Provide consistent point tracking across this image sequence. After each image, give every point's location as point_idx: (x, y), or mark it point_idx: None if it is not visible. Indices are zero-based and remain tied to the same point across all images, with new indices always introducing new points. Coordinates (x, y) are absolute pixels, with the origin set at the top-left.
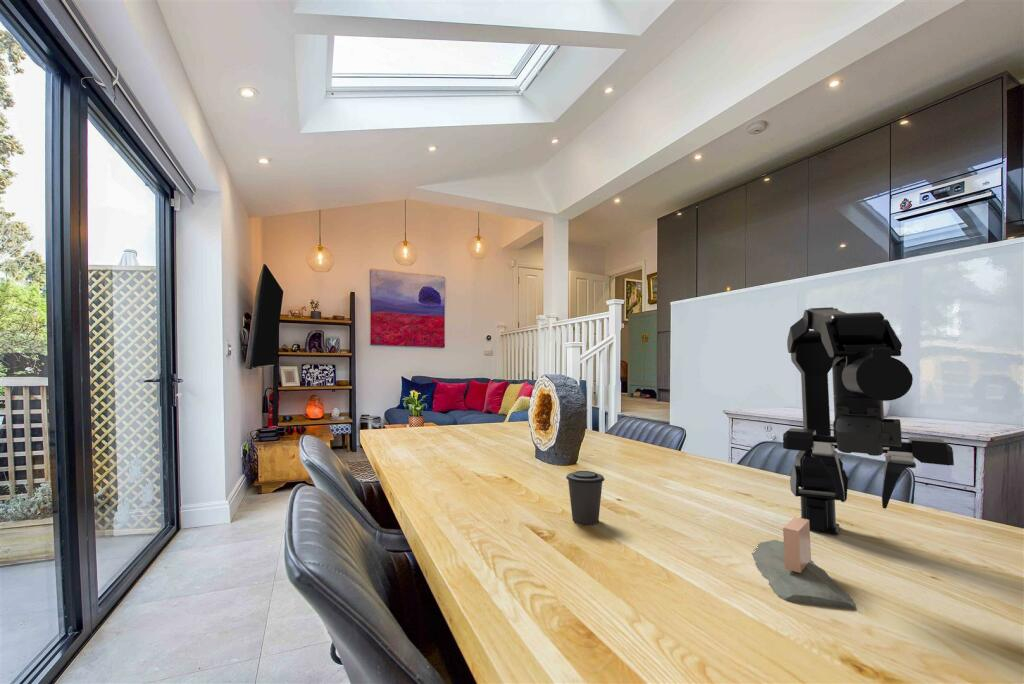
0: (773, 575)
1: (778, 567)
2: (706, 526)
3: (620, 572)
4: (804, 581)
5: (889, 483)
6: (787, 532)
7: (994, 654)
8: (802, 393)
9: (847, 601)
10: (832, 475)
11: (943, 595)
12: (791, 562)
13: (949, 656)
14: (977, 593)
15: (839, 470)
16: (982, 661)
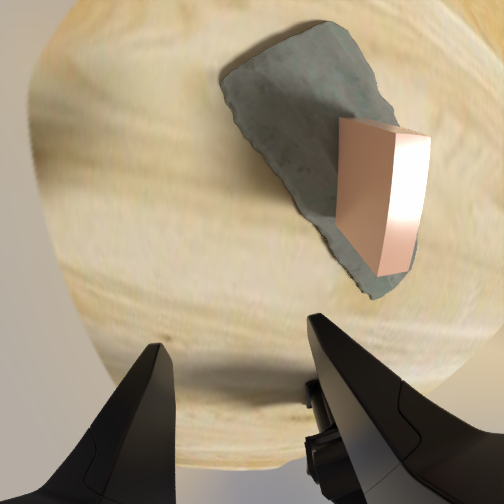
0: (377, 98)
1: None
2: (472, 267)
3: (501, 4)
4: (323, 93)
5: (100, 445)
6: (414, 133)
7: (43, 116)
8: None
9: (235, 77)
10: (411, 400)
11: (134, 282)
12: (364, 120)
13: (81, 45)
14: (115, 324)
15: (373, 460)
16: (51, 76)
